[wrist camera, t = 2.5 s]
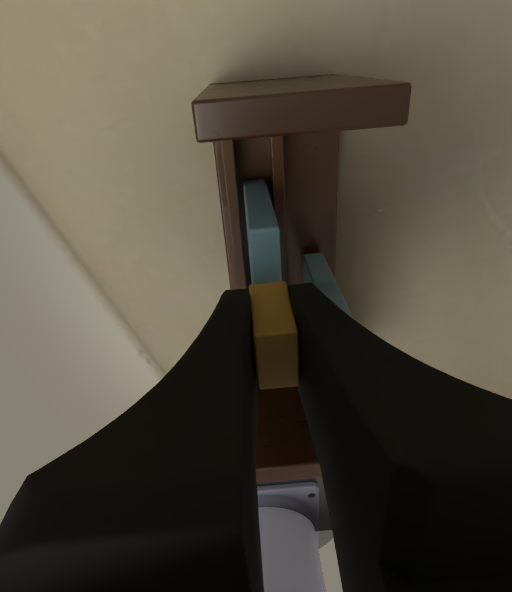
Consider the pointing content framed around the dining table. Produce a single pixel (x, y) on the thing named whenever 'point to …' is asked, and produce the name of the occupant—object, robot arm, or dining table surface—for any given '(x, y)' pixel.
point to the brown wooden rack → (289, 205)
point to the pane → (269, 294)
